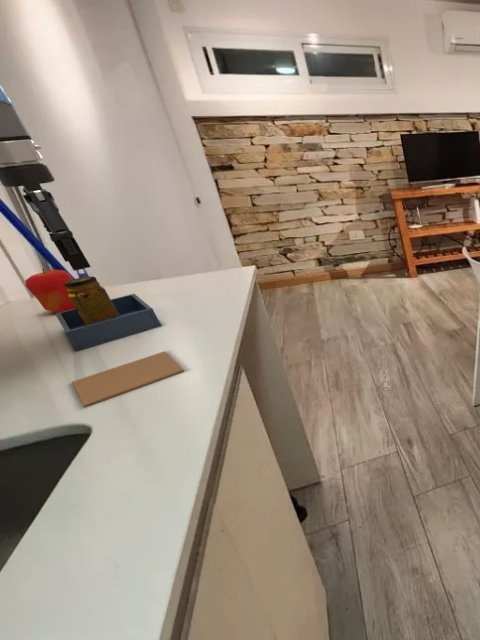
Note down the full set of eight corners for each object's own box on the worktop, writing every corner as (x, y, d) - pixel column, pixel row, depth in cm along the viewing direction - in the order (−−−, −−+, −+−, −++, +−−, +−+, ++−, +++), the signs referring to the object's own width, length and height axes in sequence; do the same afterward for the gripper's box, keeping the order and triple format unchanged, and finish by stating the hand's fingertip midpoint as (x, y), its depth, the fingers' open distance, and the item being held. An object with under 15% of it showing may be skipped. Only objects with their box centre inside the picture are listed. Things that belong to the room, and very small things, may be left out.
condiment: (88, 328, 113) (59, 280, 107) (134, 316, 118) (109, 270, 112) (87, 336, 108) (57, 287, 102) (135, 324, 113) (109, 276, 107)
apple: (71, 304, 132) (46, 263, 127) (97, 303, 131) (73, 262, 126) (35, 316, 124) (7, 273, 119) (63, 316, 123) (36, 272, 118)
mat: (84, 407, 81) (83, 405, 80) (73, 383, 89) (71, 381, 88) (184, 371, 90) (183, 369, 90) (165, 352, 98) (164, 351, 98)
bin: (77, 350, 102) (65, 332, 100) (65, 330, 114) (54, 313, 112) (161, 325, 112) (152, 308, 110) (143, 309, 124) (134, 293, 122)
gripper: (51, 162, 92) (110, 267, 101) (39, 160, 106) (91, 252, 116) (-6, 168, 87) (61, 278, 96) (-11, 165, 101) (48, 261, 111)
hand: (77, 264), depth 106 cm, fingers open, 13 cm apart
